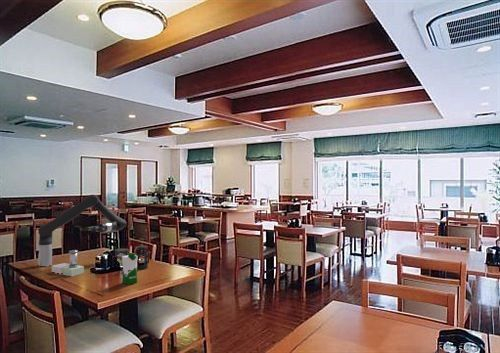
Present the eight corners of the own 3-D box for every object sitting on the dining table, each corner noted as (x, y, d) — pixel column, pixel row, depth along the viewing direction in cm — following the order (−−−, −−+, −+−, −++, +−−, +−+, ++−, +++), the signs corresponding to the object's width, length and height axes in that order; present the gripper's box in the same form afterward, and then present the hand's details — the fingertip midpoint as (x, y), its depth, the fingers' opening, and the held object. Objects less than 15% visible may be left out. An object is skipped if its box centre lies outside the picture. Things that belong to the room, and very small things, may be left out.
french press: (139, 270, 270) (139, 240, 270) (132, 268, 276) (132, 239, 276) (152, 267, 280) (152, 238, 280) (144, 265, 285) (144, 237, 285)
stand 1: (51, 272, 265) (51, 265, 265) (64, 269, 274) (64, 263, 274) (60, 274, 260) (60, 267, 260) (72, 271, 269) (72, 264, 269)
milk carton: (127, 285, 232) (127, 255, 232) (120, 283, 238) (120, 253, 238) (139, 282, 239) (139, 252, 239) (131, 280, 245) (131, 251, 245)
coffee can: (128, 268, 276) (128, 250, 276) (114, 269, 273) (114, 251, 273) (129, 265, 286) (129, 248, 286) (115, 266, 283) (115, 248, 283)
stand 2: (62, 274, 259) (62, 267, 259) (75, 271, 268) (75, 264, 268) (71, 276, 254) (71, 269, 254) (83, 273, 263) (83, 266, 263)
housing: (67, 267, 260) (67, 251, 260) (74, 265, 265) (74, 249, 265) (72, 268, 257) (72, 252, 257) (79, 266, 262) (79, 250, 263)
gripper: (98, 222, 295) (81, 224, 281) (110, 223, 289) (93, 225, 274) (98, 231, 295) (81, 234, 281) (110, 232, 289) (93, 235, 274)
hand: (87, 230), depth 278 cm, fingers open, 8 cm apart
